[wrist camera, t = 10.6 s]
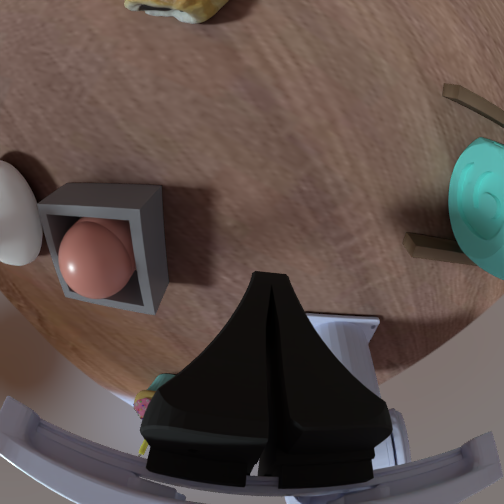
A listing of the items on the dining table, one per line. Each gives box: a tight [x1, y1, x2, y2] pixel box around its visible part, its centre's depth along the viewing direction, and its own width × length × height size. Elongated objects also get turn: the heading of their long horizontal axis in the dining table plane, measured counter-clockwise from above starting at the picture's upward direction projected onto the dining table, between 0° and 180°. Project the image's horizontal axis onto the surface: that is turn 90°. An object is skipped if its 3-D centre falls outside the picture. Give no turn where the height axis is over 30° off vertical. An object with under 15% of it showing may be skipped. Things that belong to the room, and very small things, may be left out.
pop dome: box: [58, 217, 136, 299], centre depth 19 cm, size 6×6×6 cm
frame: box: [403, 83, 504, 266], centre depth 16 cm, size 13×12×2 cm
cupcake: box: [133, 374, 175, 457], centre depth 29 cm, size 9×8×12 cm
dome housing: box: [37, 183, 169, 315], centre depth 20 cm, size 9×9×4 cm
